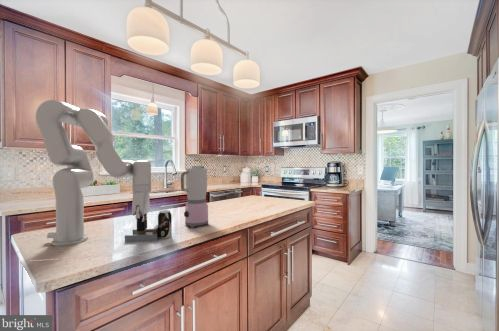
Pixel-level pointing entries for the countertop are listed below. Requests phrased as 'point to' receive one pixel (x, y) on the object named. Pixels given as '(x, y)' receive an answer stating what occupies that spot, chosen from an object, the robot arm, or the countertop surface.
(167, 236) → the beverage can
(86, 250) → the countertop surface
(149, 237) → the channel
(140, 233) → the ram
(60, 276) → the countertop surface
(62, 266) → the countertop surface
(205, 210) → the blender
